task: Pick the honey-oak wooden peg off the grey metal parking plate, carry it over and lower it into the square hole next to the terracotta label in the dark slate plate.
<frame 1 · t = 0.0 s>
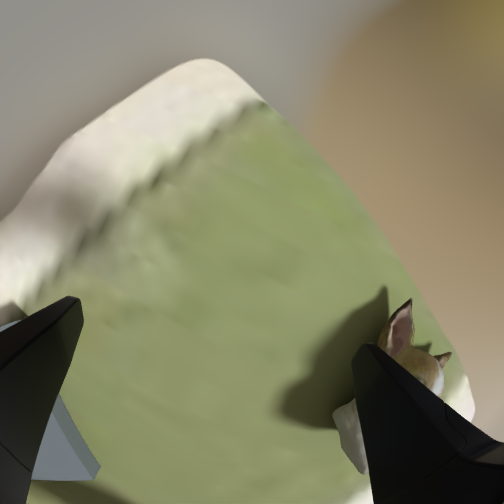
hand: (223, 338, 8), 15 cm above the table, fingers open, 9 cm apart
ceramic sculpture: (377, 382, 25), on the table
hole plate: (11, 407, 18), on the table
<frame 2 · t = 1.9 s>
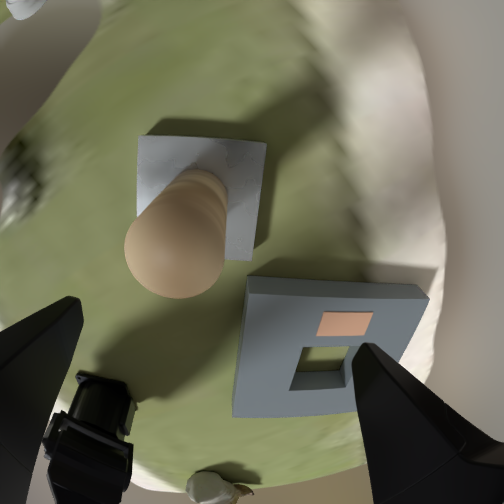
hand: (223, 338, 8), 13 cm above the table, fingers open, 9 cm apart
ceramic sculpture: (216, 478, 42), on the table
parking plate: (199, 194, 19), on the table
hole plate: (320, 351, 27), on the table
peg: (196, 200, 18), point 1 cm above the table, touching parking plate
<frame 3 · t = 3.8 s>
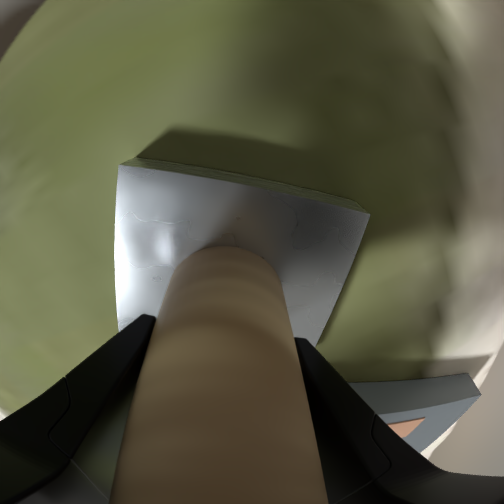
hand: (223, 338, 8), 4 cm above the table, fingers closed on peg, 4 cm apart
parking plate: (226, 275, 11), on the table
hole plate: (346, 440, 19), on the table
peg: (225, 298, 10), point 1 cm above the table, touching gripper, parking plate
when the fingers open (4 cm above the table, at t = 8.4 s): peg drops 2 cm, resting in hole plate.
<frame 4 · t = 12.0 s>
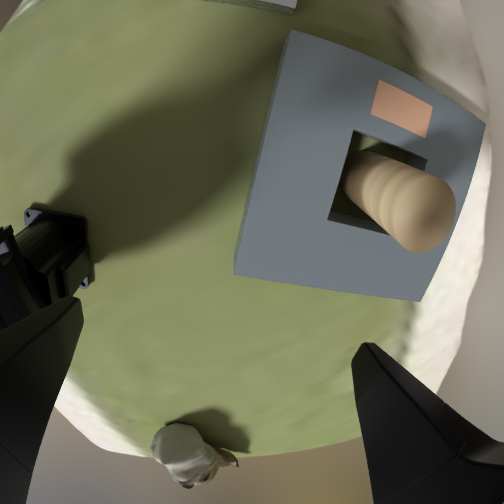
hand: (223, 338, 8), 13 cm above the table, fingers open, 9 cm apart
ceramic sculpture: (192, 437, 35), on the table
hole plate: (366, 178, 19), on the table
peg: (365, 177, 19), resting in hole plate
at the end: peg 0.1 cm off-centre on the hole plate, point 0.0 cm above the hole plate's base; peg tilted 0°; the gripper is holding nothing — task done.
